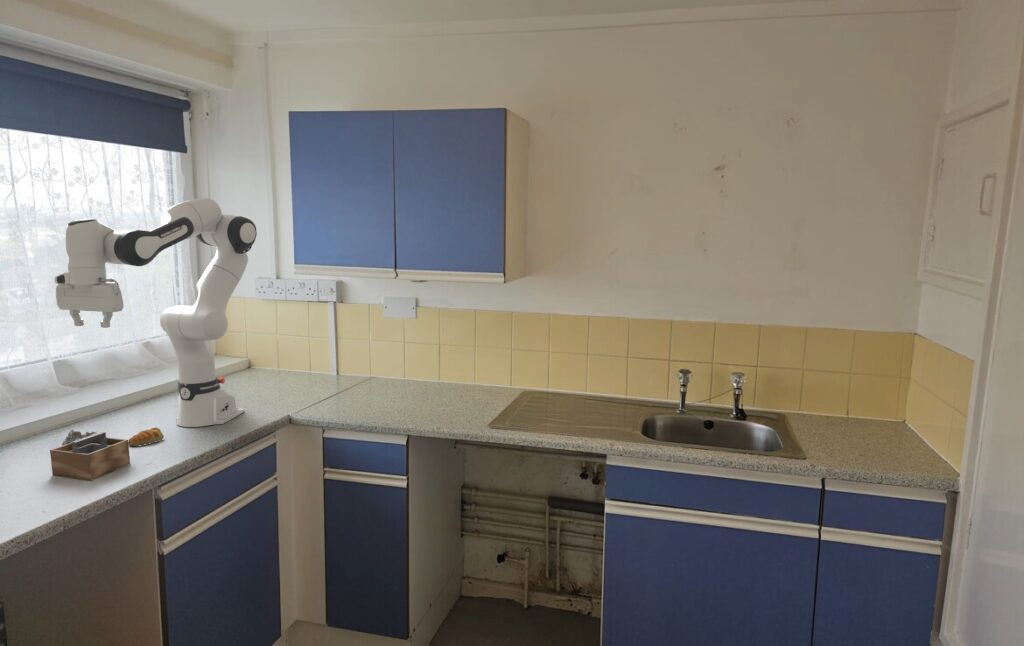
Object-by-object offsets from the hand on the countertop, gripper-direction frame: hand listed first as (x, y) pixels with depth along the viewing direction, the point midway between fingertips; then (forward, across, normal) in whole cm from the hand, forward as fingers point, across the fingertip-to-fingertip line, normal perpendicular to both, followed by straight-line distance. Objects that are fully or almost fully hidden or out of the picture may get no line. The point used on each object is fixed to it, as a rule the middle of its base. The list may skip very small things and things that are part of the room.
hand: (92, 326), depth 187 cm
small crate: (+36, -8, +11) cm, 39 cm away
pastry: (+38, -4, -12) cm, 40 cm away
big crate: (+37, -8, +11) cm, 39 cm away
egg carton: (+38, +13, -4) cm, 40 cm away
